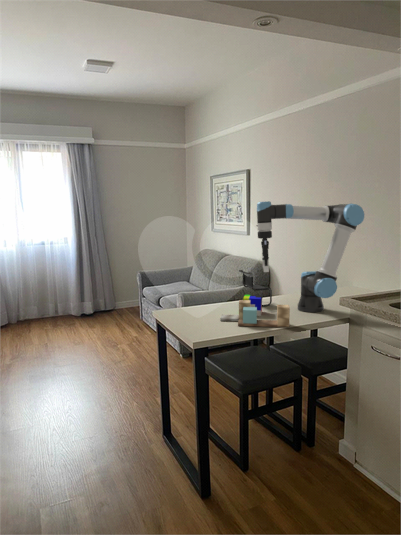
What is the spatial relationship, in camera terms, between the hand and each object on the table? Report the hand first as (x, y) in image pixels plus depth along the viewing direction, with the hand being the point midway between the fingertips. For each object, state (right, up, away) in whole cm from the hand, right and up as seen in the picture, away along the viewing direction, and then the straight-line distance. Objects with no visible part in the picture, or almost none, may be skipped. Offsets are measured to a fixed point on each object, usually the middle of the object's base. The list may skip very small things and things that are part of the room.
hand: (265, 270), depth 217 cm
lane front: (-3, -28, -9) cm, 30 cm away
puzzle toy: (-5, -26, +15) cm, 30 cm away
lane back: (-16, -27, +3) cm, 32 cm away
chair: (-1, -22, +36) cm, 43 cm away
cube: (-9, -27, -8) cm, 30 cm away
